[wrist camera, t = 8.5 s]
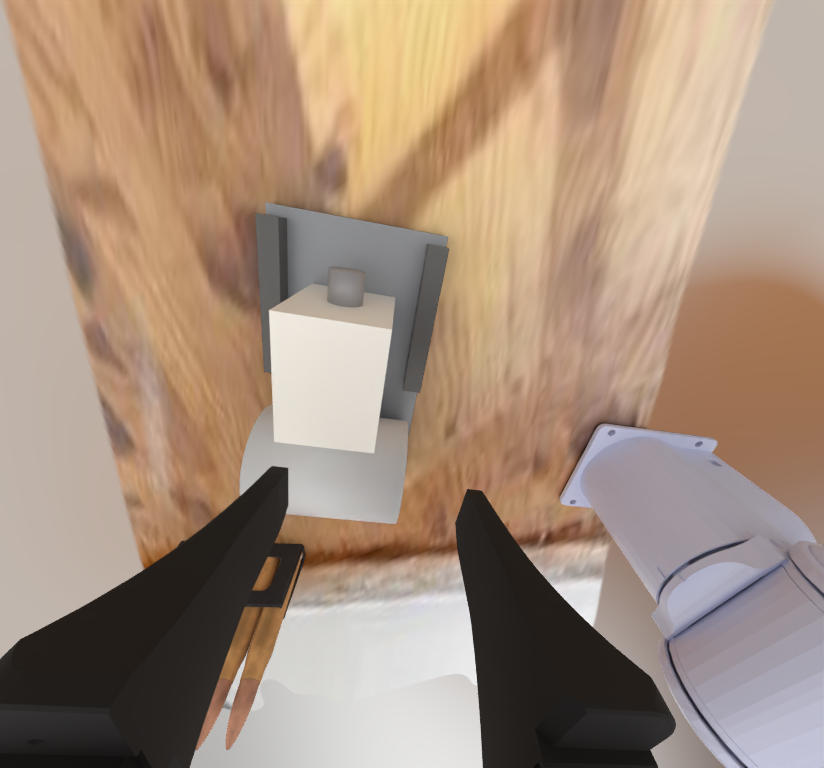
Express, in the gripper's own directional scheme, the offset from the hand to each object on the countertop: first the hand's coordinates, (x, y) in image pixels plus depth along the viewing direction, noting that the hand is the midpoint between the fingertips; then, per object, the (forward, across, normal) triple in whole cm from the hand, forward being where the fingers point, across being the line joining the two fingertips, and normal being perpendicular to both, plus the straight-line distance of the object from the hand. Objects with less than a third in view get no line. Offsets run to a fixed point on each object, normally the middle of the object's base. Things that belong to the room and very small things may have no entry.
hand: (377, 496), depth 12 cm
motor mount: (+9, +3, -2) cm, 10 cm away
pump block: (+8, +3, -3) cm, 9 cm away
